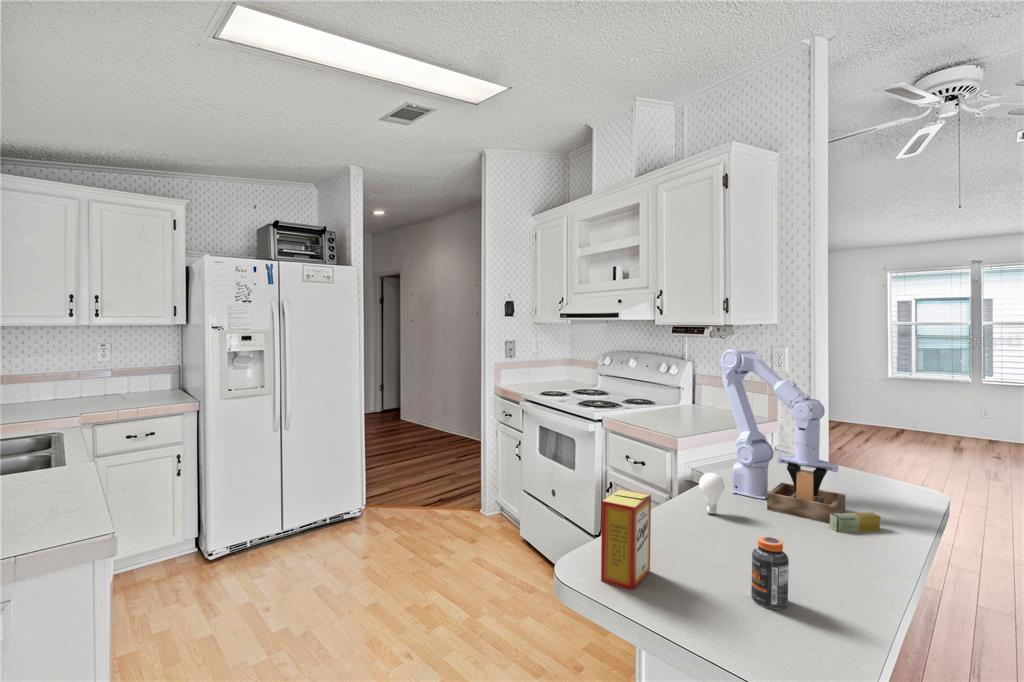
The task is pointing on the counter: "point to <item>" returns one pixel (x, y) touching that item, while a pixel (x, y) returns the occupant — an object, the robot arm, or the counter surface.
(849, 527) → the medication box
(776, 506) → the walled box
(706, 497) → the lightbulb
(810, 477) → the peach plain square-edged block
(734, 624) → the counter surface
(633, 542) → the baking soda box
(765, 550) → the pill bottle
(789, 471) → the robot arm
